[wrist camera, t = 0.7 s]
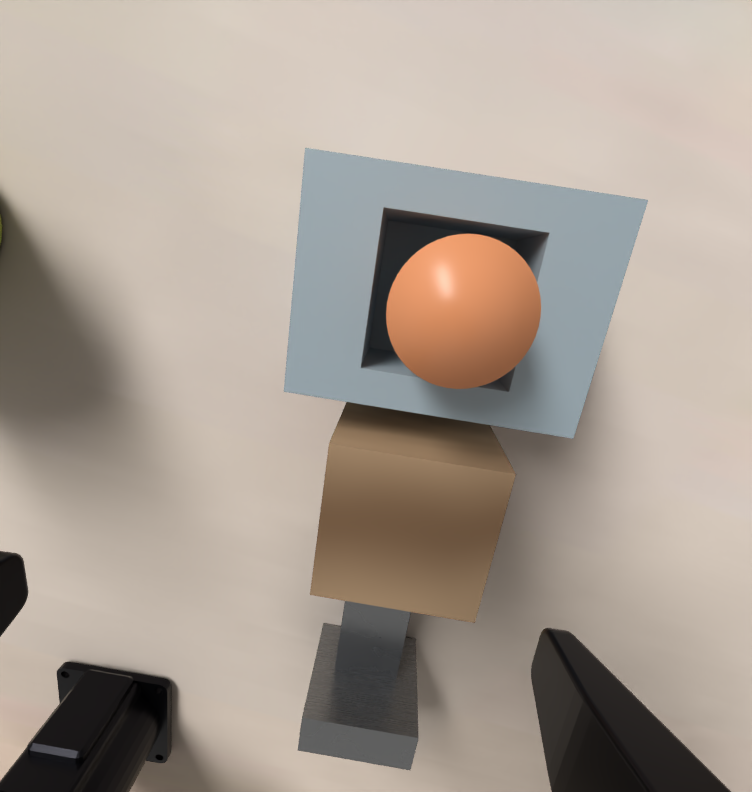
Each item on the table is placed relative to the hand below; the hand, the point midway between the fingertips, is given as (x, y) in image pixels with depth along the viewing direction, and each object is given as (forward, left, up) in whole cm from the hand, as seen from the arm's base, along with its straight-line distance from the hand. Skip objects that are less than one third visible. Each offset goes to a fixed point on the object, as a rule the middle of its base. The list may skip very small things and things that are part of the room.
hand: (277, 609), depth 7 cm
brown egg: (+5, -3, -6) cm, 9 cm away
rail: (-5, -3, -12) cm, 13 cm away
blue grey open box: (+5, -3, -12) cm, 13 cm away
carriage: (-1, -3, -11) cm, 11 cm away
